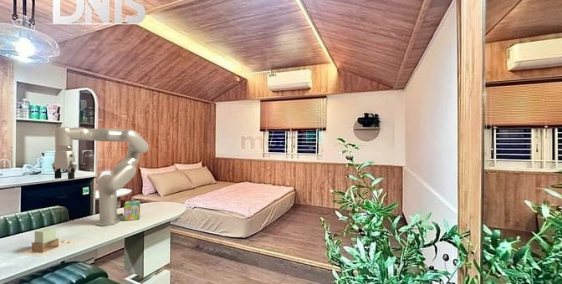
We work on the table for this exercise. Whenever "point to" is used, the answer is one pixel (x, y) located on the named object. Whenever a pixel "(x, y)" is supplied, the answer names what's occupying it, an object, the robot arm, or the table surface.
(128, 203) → the chalk box
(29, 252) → the snap baseplate
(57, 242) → the walnut block
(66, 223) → the table surface
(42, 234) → the sage block
